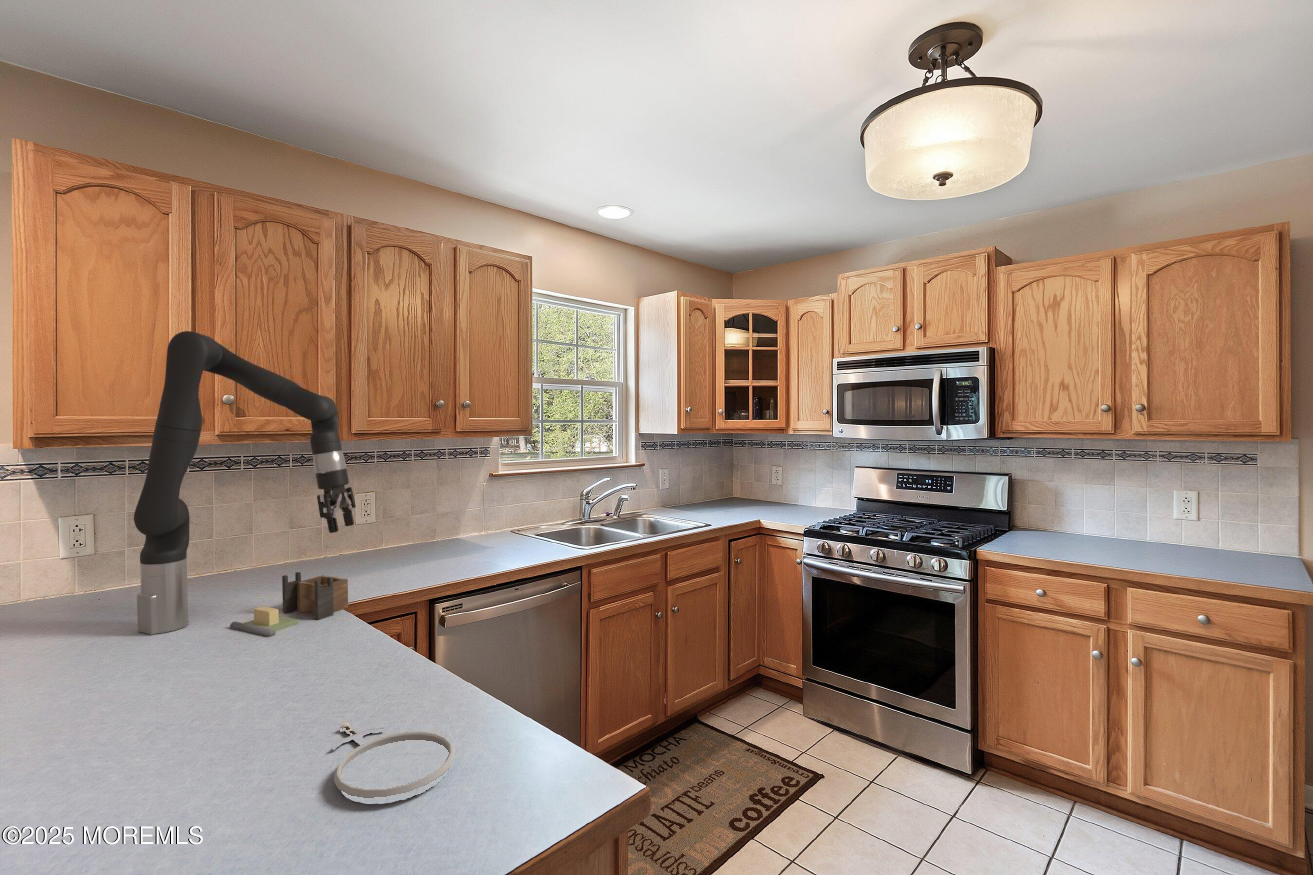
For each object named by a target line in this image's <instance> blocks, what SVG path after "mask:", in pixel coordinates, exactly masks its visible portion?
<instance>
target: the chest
mask: <svg viewBox="0 0 1313 875" xmlns="http://www.w3.org/2000/svg"><path fill="white" fill-rule="evenodd" d="M301 573H302V572H300V571H297V572H296V571H295V572H294V576H295V579H294V580H291V581H289V576H288V575H287V574H283V575H282V576H281V580H282V581H281V583H282V584H281V585H282V587H281V588H282V589H281V590H282V592H281V593H282V595H281V596H282V613H283V614H289V613H292V612H295V611H297V612H300V613H301V612H302V613H305V614H311V615H314V619H315V620H316V621H319V620H322V619H325V618H328V617H332V616H334V613H335V612H339V611H342V610H345V609H347V608H349V580H348V578H342V577H337V576H330V575H319V576H316V577H311V578H307V579H304V580H302V574H301Z"/></svg>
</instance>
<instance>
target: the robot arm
mask: <svg viewBox="0 0 1313 875" xmlns="http://www.w3.org/2000/svg"><path fill="white" fill-rule="evenodd" d="M165 363H166V364H165V372H164V373H165V374H164V384H163V389H162V392H161V393H162V394H161V398H160V403H159V409H158V413H157V417H156V421H155V425H154V429H153V434H152V440H151V447H150V453H149V456H148V457H149V458H148V463H147V470H146V477H145V480H144V483H143V486H142V490H141V493H140V495H139V497H138V501H137V504H136V507H135V510H134V513H133V522H134V526H135V527H136V529H137V531H138V532H140V534H142V535H145V540H144V544H143V547H142V549H141V551H140V553H139V568H140V569H139V571H140V572H139V573H140V575H139V576H140V592H138V593H137V594H136V610H137V611H136V612H137V617H136V618H137V632H139V633H142V634H143V633H144V634H148V635H151V636H152V635H157V634H161V633H162V634H163V633H169V632H173V631H174V632H175V631H176V630H177V631H178V630H180V629H183V628H186V626H188V625H189V602H188V601H189V600H188V599H189V597H188V595H189V594H188V560H187V558H188V556H187V552H188V549H189V545H190V525H191V524H190V511H189V507H188V505H187V504H186V502H185V501H184V500H183V499H181V498H180V491H181V487H182V482H183V479H184V478H185V475H186V473H187V472H188V469H189V467H190V465H191V463H192V462H193V459H194V457H195V455H196V453H197V451H198V447H199V444H200V443H199V442H200V439H201V438H200V437H201V433H202V428H203V416H202V408H201V403H200V395H199V392H200V386H201V385H200V384H201V379H202V375H203V372H208V373H211V374H214V375H217V376H220V377H221V376H222V377H224V378H226V379H228V380H231V381H232V382H235V383H237V384H239V385H240V386H242V387H244V388H246V389H247V390H248V391H250V392H252V393H253V394H255V395H257V396H259V397H261V398H264V399H265V400H267V401H269V402H272V403H275V404H276V405H279V406H281V407H282V408H283V407H284V408H286V409H288V410H289V411H291V412H293V413H295V415H296V414H297V415H298V416H300V417H302V418H303V419H306V420H308V421H310V425H311V434H310V435H309V441H310V447H311V448H310V449H311V453H312V464H313V469H314V474H315V480H316V485H317V489H318V490H323V493H322V494H318V495H317V496H316V500H317V504H318V512H319V516H320V519H324V520H326V524H327V528H328V533H330V534H332V533H334V534H335V533H337V532H339V530H340V529H339V525H338V519H337V517H336V516H337V511H338V510H339V509H340V510H341V511H342V516H343V523H344V526H345V527H351V526H354V525H355V520H354V517H353V516H354V515H353V511H354V509H356V506H357V505H356V502H355V501H356V500H355V496H354V492H353V487H351V486H348V485H349V483H350V479H349V475H348V474H349V473H348V469H347V465H346V459H345V455H344V453H343V448H342V443H341V438H340V437H341V436H340V435H339V415H338V414H339V413H338V412H339V411H338V408H337V404H336V403H335V402H334V400H333V399H332V398H331V397H329V396H326V395H321V394H318V393H315V392H313V391H311V390H308V389H306V388H304V387H302V386H300V385H299V383H297V382H295V381H294V380H291V379H288V378H287V377H285V376H282V375H280V374H278V373H276V372H273V371H271V370H268V369H266V368H264V367H261V366H260V365H257V364H255V363H253V362H250V361H248V360H247V359H244V358H243V357H241V356H239V355H238V354H236V353H234V352H233V351H231V350H229V349H228V348H227V347H225V346H223V345H222V344H220V343H219V342H217V341H216V340H215V339H214V338H212V337H210V336H208V335H205V334H201V333H198V332H195V331H189V330H185V331H181V332H178V333H177V334H175V335H173V337H171V339H170V341H169V343H168V345H167V351H166V360H165ZM345 486H348V487H345Z"/></svg>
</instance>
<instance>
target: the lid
mask: <svg viewBox="0 0 1313 875" xmlns="http://www.w3.org/2000/svg"><path fill="white" fill-rule="evenodd" d="M298 624H299V619H297V618H293V617H288V616H283V615H280V614H279V608H274V607H270V606H269V607H268V606H264V605H263V606H260V607H256V608H253V619H252V620H249V621H246V622H239V621H232V622H231V623H230V625H229V628H230V629H231V630H232V629H233V630H237V631H242V632H246V633H251V634H254V635H260V636H262V637H263V636H264V637H268V638H271V637H274V636H275V635H277V634H276V633H277V631H281V630H286V629H288V628H290V627H293V626H296V625H298Z"/></svg>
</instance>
